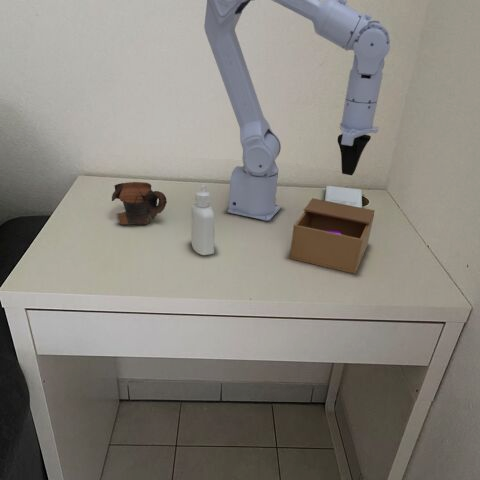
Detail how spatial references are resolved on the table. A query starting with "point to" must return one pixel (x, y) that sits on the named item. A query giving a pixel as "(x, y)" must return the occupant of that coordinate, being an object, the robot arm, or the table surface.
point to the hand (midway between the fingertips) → (347, 173)
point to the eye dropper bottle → (203, 223)
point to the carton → (329, 241)
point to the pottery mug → (138, 202)
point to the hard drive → (344, 196)
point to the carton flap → (340, 211)
